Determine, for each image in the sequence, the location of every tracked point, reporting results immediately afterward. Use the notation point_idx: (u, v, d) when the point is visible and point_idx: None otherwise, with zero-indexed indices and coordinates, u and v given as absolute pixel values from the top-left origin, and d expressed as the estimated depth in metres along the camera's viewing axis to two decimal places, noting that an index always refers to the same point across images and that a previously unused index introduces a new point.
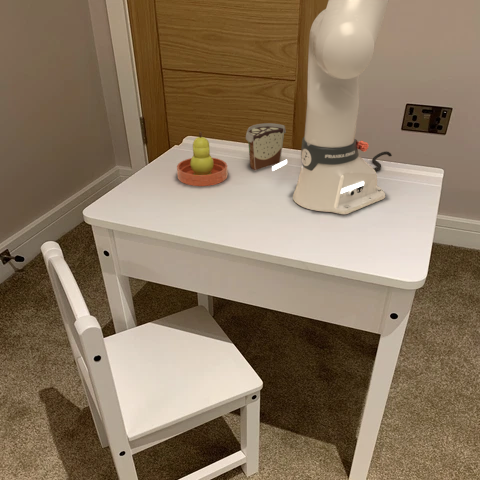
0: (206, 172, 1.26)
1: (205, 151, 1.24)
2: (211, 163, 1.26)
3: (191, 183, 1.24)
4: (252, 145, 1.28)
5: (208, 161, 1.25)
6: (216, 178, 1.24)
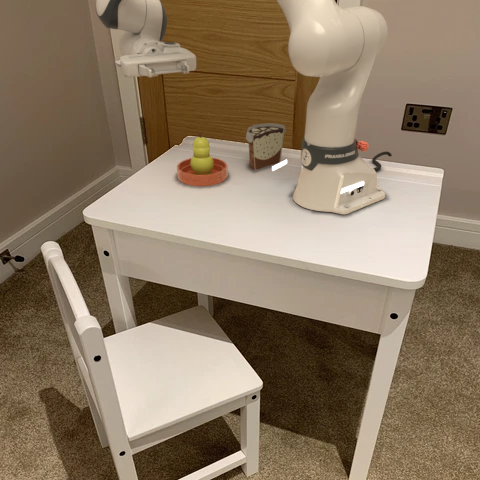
0: (206, 172, 1.26)
1: (205, 151, 1.24)
2: (211, 163, 1.26)
3: (191, 183, 1.24)
4: (252, 145, 1.28)
5: (208, 161, 1.25)
6: (216, 178, 1.24)
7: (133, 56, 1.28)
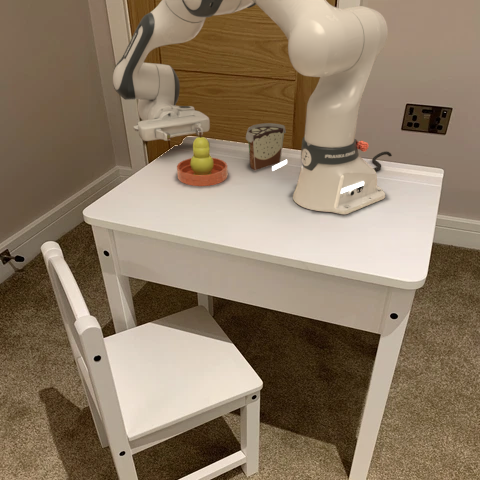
0: (206, 172, 1.26)
1: (205, 151, 1.24)
2: (211, 163, 1.26)
3: (191, 183, 1.24)
4: (252, 145, 1.28)
5: (208, 161, 1.25)
6: (216, 178, 1.24)
7: (150, 121, 1.36)
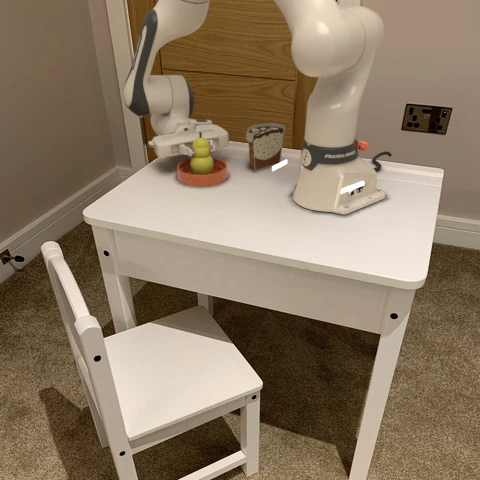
0: (206, 172, 1.26)
1: (205, 151, 1.24)
2: (211, 163, 1.26)
3: (191, 183, 1.24)
4: (252, 145, 1.28)
5: (208, 161, 1.25)
6: (216, 178, 1.24)
7: (166, 136, 1.28)
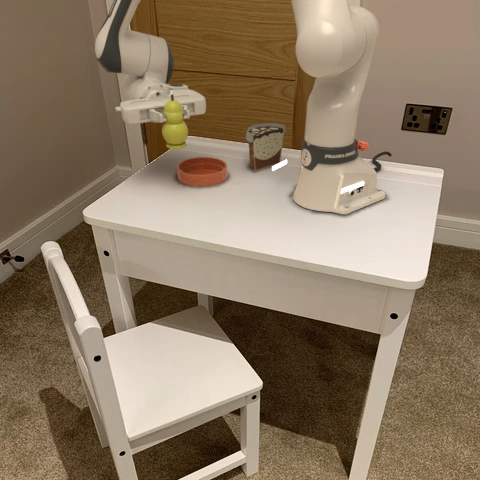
0: (179, 141, 1.13)
1: (178, 116, 1.10)
2: (185, 130, 1.12)
3: (191, 183, 1.24)
4: (252, 145, 1.28)
5: (181, 128, 1.11)
6: (216, 178, 1.24)
7: (135, 101, 1.15)
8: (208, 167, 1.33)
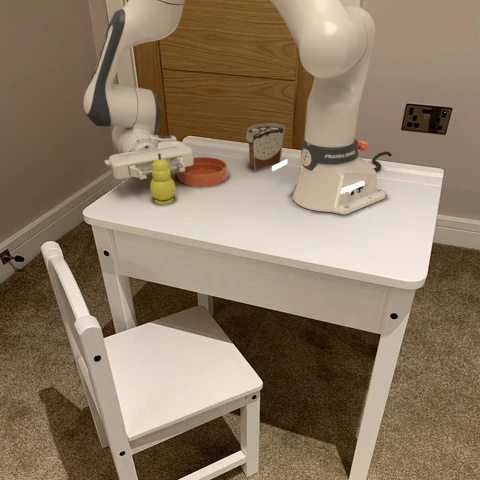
0: (167, 197, 1.15)
1: (165, 174, 1.12)
2: (172, 187, 1.15)
3: (191, 183, 1.24)
4: (252, 145, 1.28)
5: (169, 185, 1.14)
6: (216, 178, 1.24)
7: (124, 155, 1.17)
8: (208, 167, 1.33)
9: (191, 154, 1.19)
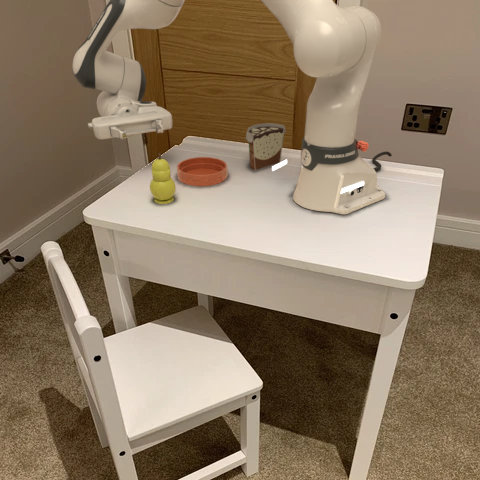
0: (167, 197, 1.15)
1: (165, 174, 1.12)
2: (172, 187, 1.15)
3: (191, 183, 1.24)
4: (252, 145, 1.28)
5: (169, 185, 1.14)
6: (216, 178, 1.24)
7: (106, 118, 1.24)
8: (208, 167, 1.33)
9: (169, 117, 1.26)
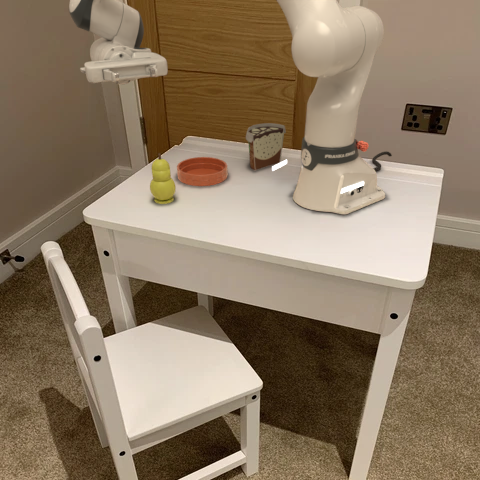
0: (167, 197, 1.15)
1: (165, 174, 1.12)
2: (172, 187, 1.15)
3: (191, 183, 1.24)
4: (252, 145, 1.28)
5: (169, 185, 1.14)
6: (216, 178, 1.24)
7: (99, 62, 1.21)
8: (208, 167, 1.33)
9: (164, 62, 1.23)
